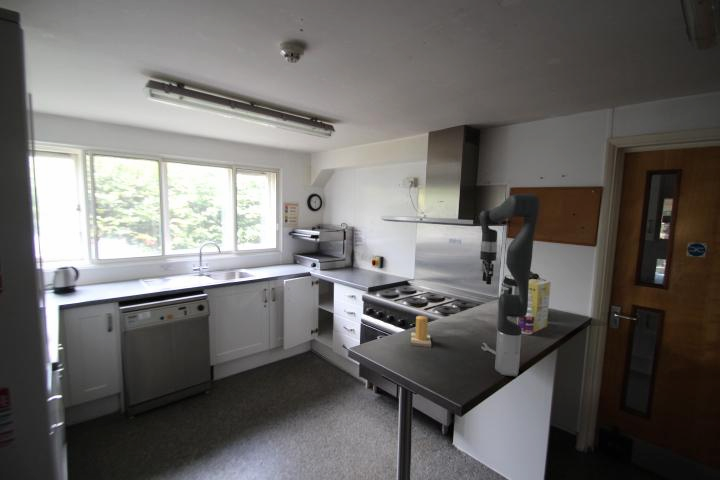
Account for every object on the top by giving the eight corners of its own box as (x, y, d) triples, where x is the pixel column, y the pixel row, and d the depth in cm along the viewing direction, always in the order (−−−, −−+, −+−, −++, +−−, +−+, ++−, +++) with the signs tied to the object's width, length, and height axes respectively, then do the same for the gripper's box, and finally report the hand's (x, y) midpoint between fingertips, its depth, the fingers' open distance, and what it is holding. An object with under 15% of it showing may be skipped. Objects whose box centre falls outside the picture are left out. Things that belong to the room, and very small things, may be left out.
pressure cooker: (503, 305, 241) (506, 264, 238) (546, 312, 225) (549, 269, 223) (495, 314, 216) (498, 269, 214) (542, 323, 200) (546, 274, 198)
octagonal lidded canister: (426, 340, 161) (427, 319, 160) (415, 339, 162) (416, 318, 161) (426, 336, 167) (427, 316, 166) (415, 335, 168) (416, 315, 167)
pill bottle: (525, 335, 177) (527, 310, 176) (514, 330, 185) (515, 306, 184) (536, 334, 180) (538, 309, 179) (524, 329, 188) (525, 305, 187)
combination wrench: (516, 359, 139) (483, 341, 158) (514, 360, 139) (481, 341, 157) (515, 367, 140) (482, 348, 158) (513, 368, 139) (480, 348, 158)
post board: (430, 347, 157) (431, 330, 156) (410, 345, 159) (411, 328, 158) (429, 336, 171) (430, 321, 170) (411, 335, 172) (411, 320, 172)
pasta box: (529, 321, 204) (532, 278, 202) (546, 326, 196) (550, 281, 194) (516, 326, 192) (519, 281, 190) (534, 332, 184) (538, 285, 182)
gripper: (478, 248, 164) (476, 279, 166) (483, 251, 150) (481, 285, 152) (493, 249, 163) (491, 280, 164) (500, 252, 149) (498, 286, 150)
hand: (486, 282), depth 158 cm, fingers open, 8 cm apart
